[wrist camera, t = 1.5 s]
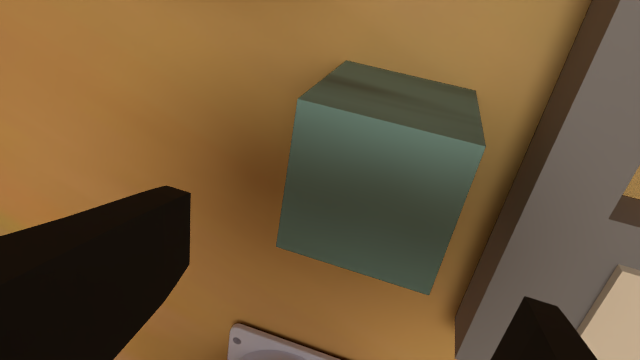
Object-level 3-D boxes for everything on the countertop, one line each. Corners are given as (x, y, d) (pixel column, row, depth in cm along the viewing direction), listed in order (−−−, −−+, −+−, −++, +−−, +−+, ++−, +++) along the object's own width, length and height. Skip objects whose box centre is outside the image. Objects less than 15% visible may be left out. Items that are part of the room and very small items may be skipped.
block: (436, 203, 18) (429, 295, 13) (324, 172, 19) (276, 246, 14) (475, 90, 16) (485, 146, 11) (346, 60, 17) (297, 98, 12)
